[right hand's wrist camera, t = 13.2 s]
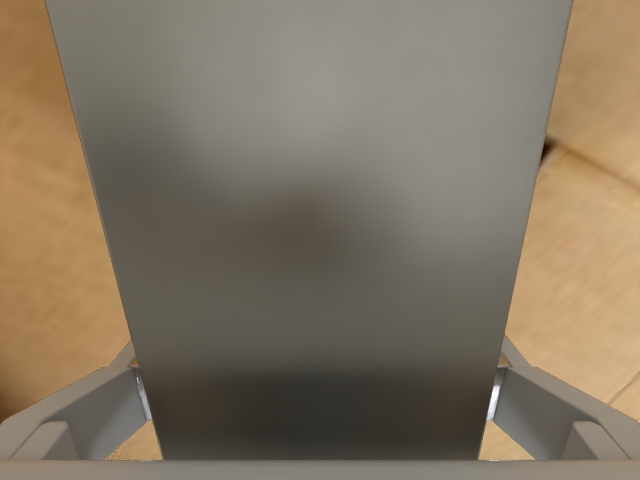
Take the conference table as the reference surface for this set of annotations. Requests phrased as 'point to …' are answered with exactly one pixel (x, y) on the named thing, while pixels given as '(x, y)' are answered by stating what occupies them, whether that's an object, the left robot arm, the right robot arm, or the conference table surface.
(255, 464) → the right robot arm
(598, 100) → the conference table surface
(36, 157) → the conference table surface
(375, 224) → the box
